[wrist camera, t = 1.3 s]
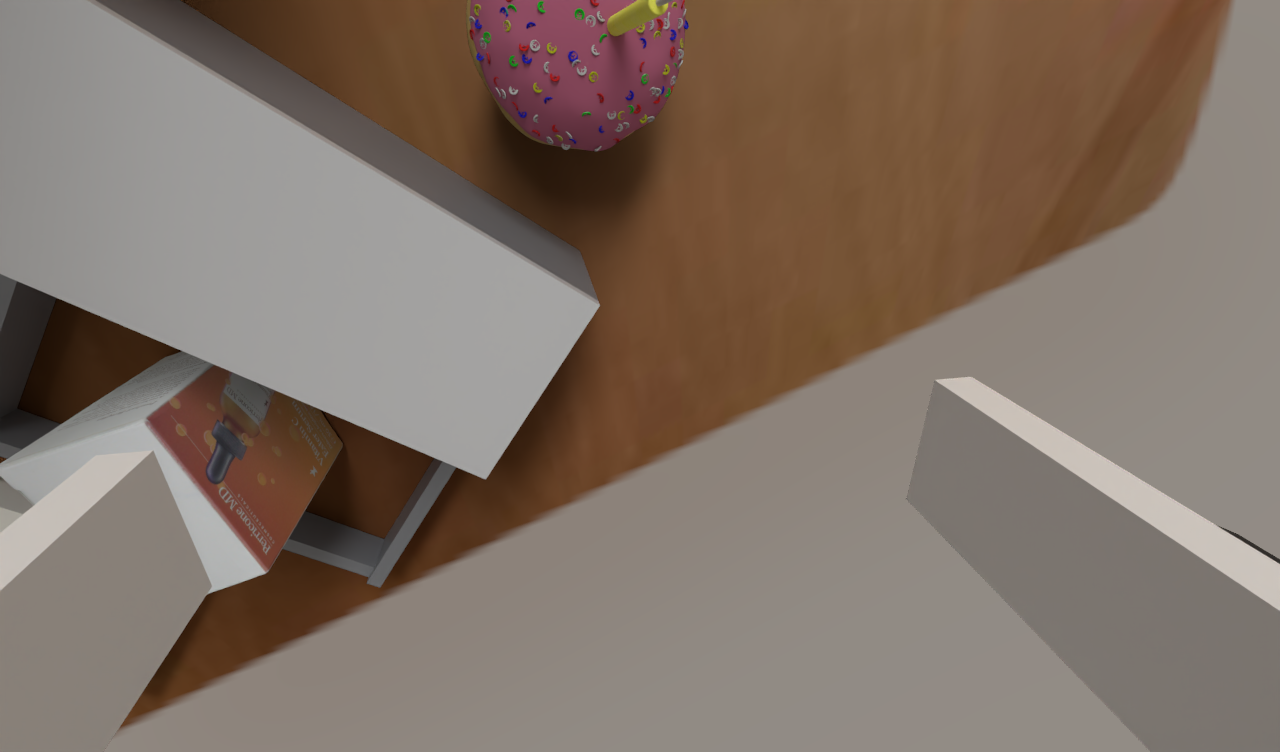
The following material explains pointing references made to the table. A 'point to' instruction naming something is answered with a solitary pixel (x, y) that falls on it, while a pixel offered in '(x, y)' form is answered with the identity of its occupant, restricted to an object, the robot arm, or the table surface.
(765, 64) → the table surface
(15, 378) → the printer
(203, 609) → the table surface
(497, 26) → the cupcake
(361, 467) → the table surface
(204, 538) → the small box
